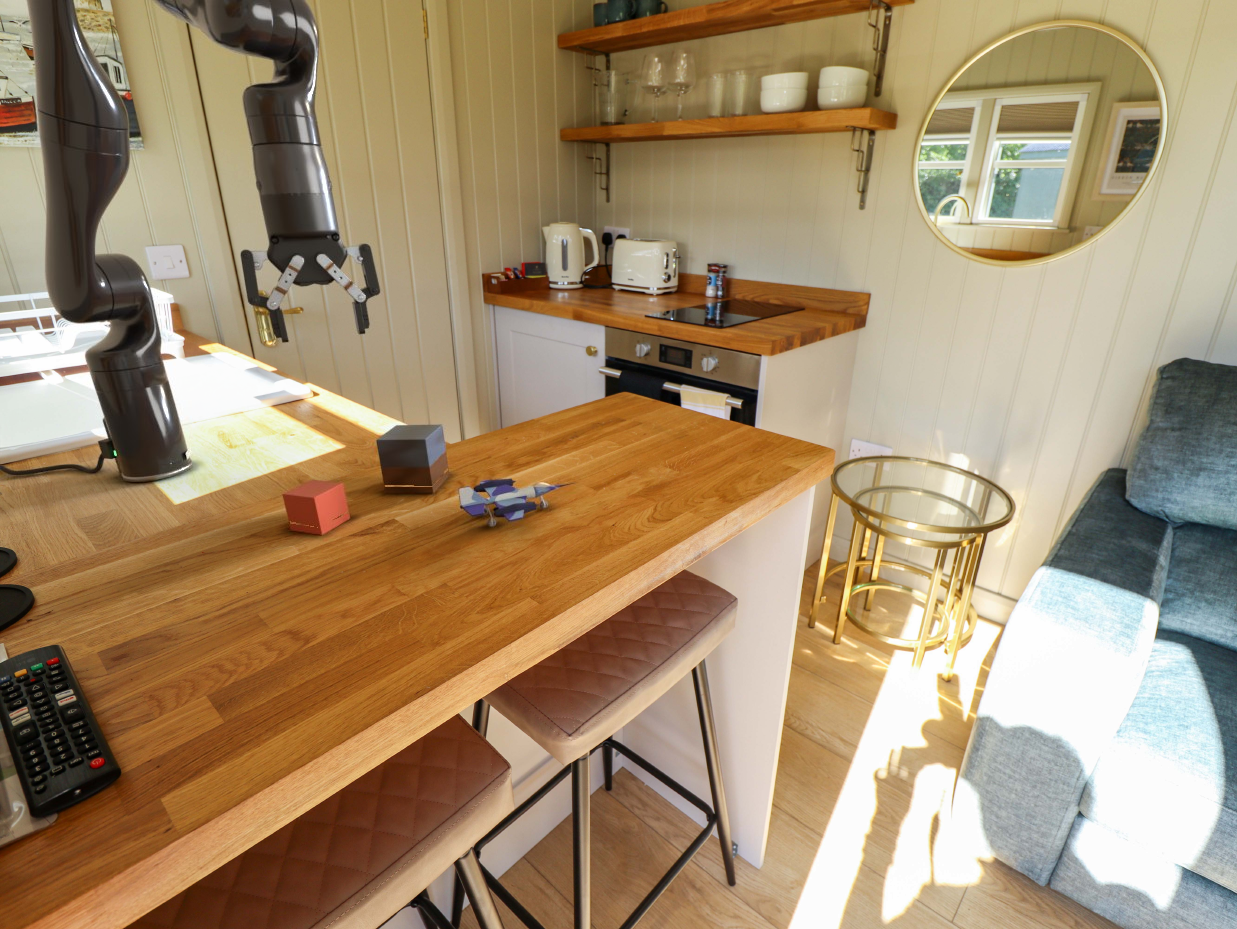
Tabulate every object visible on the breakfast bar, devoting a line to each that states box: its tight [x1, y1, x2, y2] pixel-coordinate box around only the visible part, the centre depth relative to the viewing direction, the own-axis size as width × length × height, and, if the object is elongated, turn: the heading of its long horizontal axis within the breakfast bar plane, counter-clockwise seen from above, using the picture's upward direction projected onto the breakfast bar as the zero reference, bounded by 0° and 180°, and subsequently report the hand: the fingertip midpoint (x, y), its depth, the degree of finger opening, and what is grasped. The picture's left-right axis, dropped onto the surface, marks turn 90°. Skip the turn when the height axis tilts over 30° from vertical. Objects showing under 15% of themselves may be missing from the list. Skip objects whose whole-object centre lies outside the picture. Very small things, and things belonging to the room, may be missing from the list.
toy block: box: [282, 479, 351, 536], centre depth 83 cm, size 5×5×5 cm
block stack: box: [375, 424, 450, 495], centre depth 94 cm, size 7×7×8 cm
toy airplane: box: [458, 477, 579, 528], centre depth 84 cm, size 13×14×4 cm
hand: (324, 337), depth 79 cm, fingers open, 8 cm apart
